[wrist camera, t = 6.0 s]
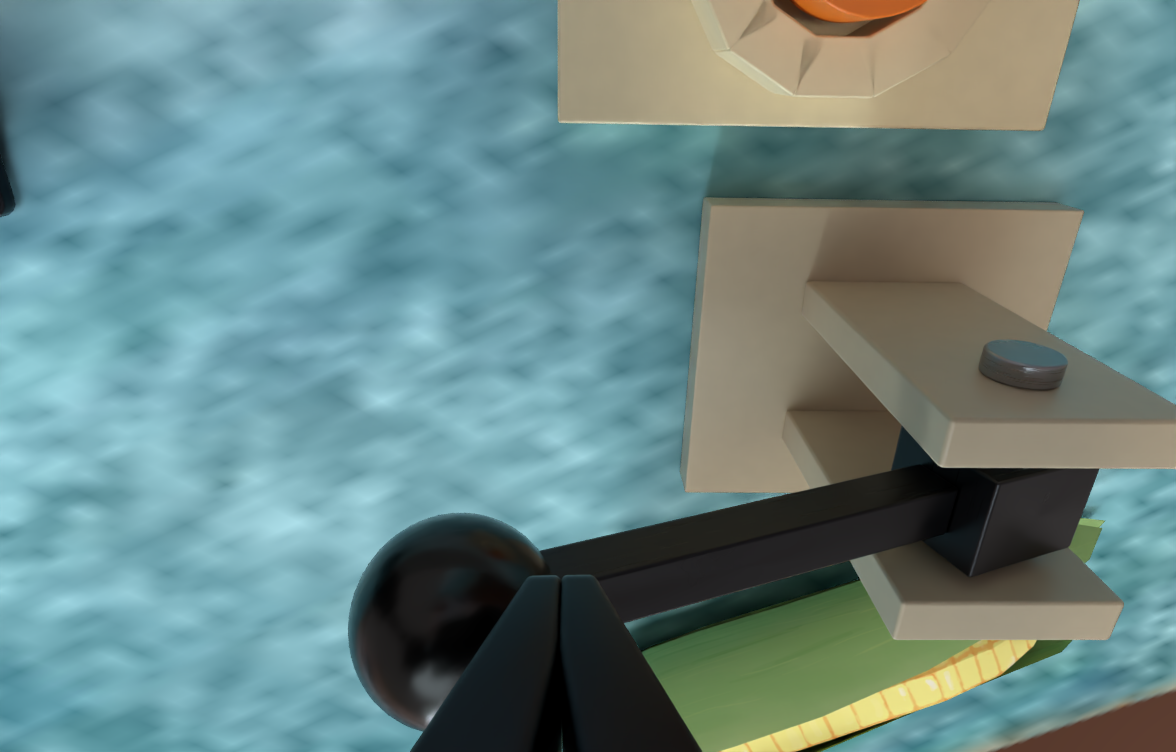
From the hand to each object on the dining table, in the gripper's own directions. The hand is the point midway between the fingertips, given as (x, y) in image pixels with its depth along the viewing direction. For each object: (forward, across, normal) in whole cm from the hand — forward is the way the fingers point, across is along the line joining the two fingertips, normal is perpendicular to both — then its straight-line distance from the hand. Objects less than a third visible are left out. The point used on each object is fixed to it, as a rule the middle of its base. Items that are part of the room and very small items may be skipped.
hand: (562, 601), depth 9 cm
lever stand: (+13, -9, +2) cm, 15 cm away
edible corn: (+13, -9, +12) cm, 20 cm away
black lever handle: (+5, -3, +2) cm, 6 cm away
